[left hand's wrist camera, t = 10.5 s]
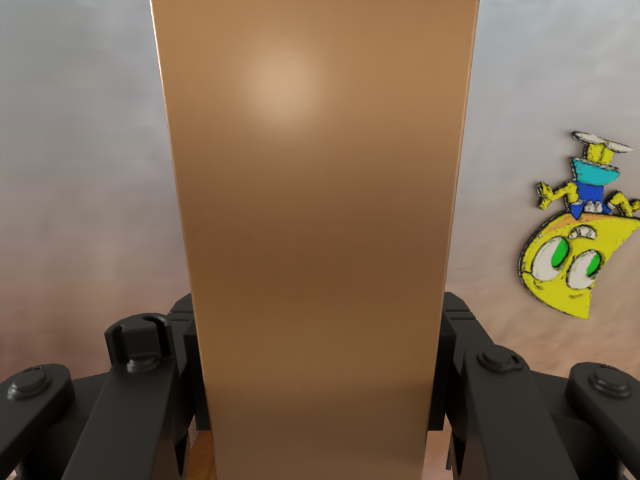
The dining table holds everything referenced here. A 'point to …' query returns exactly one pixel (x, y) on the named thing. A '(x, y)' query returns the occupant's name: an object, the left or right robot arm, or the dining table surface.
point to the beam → (316, 221)
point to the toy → (578, 231)
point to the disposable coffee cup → (202, 459)
